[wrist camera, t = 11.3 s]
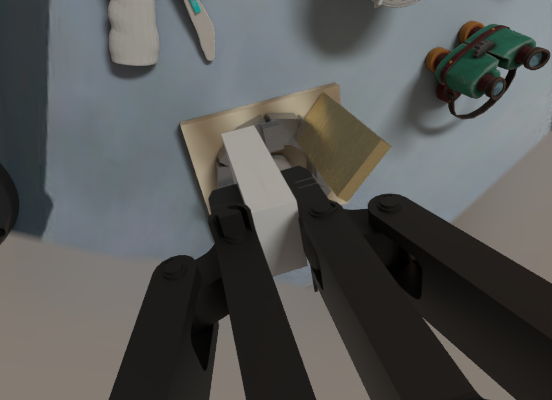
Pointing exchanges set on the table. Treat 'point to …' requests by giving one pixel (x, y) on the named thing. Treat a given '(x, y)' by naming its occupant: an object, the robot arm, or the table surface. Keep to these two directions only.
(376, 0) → the showerhead
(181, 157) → the table surface
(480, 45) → the binoculars
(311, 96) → the base
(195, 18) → the garden hose nozzle
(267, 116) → the block ring with board
